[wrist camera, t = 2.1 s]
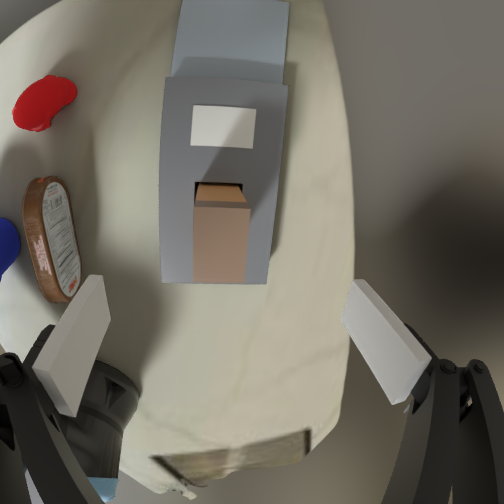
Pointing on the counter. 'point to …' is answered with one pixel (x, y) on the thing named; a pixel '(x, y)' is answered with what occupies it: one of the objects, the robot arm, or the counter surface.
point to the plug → (220, 233)
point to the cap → (43, 102)
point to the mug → (8, 245)
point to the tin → (52, 238)
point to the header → (219, 163)
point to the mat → (231, 40)
